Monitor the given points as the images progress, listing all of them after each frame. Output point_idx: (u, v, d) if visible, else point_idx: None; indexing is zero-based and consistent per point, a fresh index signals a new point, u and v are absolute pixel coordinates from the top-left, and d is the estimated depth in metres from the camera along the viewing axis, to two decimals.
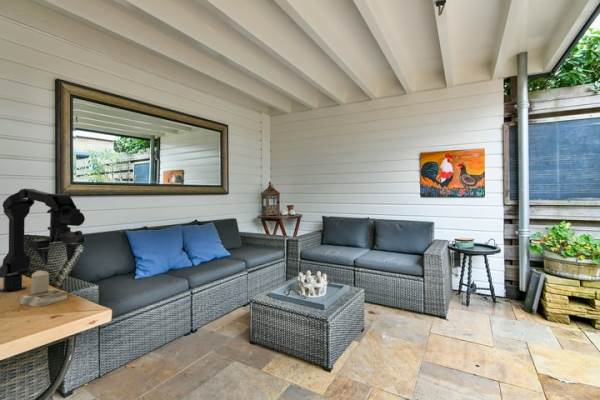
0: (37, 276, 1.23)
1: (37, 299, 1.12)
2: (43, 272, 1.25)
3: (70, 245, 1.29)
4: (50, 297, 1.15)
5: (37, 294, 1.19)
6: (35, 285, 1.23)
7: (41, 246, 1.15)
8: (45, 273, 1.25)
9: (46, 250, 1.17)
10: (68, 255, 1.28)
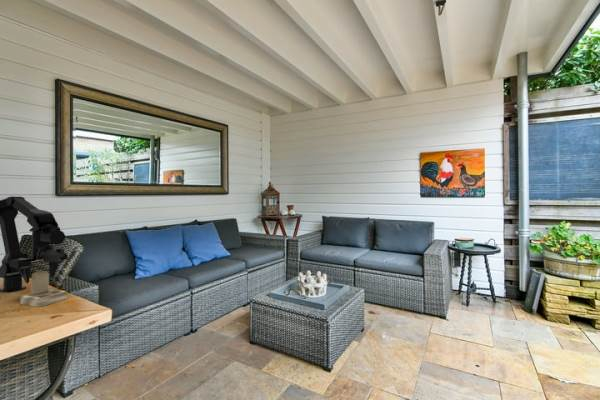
0: (37, 276, 1.23)
1: (37, 299, 1.12)
2: (43, 272, 1.25)
3: (53, 263, 1.30)
4: (50, 297, 1.15)
5: (37, 294, 1.19)
6: (35, 285, 1.23)
7: (22, 265, 1.16)
8: (45, 273, 1.25)
9: (27, 269, 1.19)
10: (51, 272, 1.30)
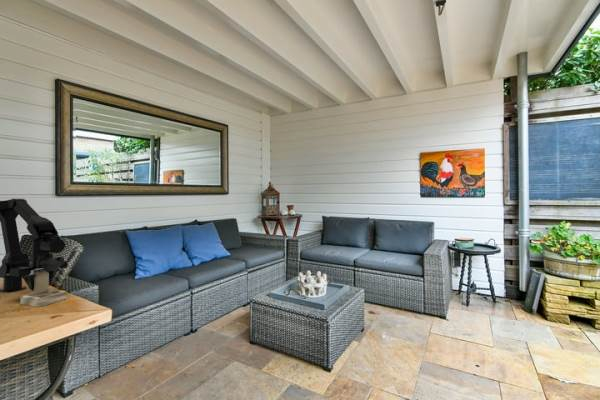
0: (37, 276, 1.23)
1: (37, 299, 1.12)
2: (43, 272, 1.25)
3: (49, 272, 1.29)
4: (50, 297, 1.15)
5: (37, 294, 1.19)
6: (35, 285, 1.23)
7: (22, 274, 1.16)
8: (45, 273, 1.25)
9: (32, 277, 1.21)
10: None
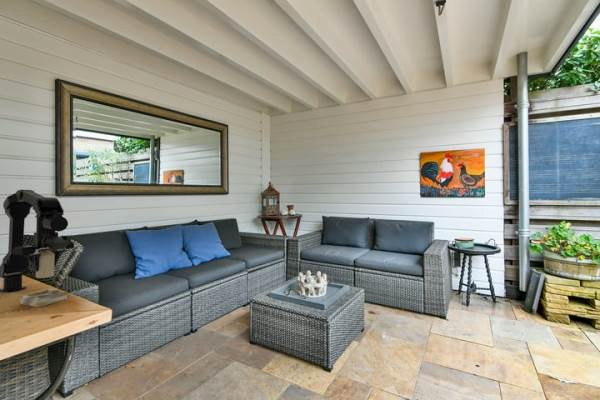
0: (42, 256, 1.15)
1: (37, 299, 1.12)
2: (48, 252, 1.17)
3: (54, 252, 1.21)
4: (50, 297, 1.15)
5: (37, 294, 1.19)
6: (40, 265, 1.15)
7: (26, 253, 1.09)
8: (50, 253, 1.18)
9: (37, 256, 1.13)
10: None
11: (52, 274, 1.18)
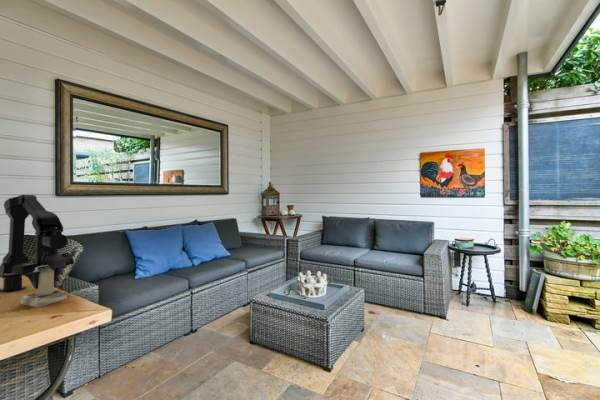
0: (42, 273, 1.15)
1: (37, 299, 1.12)
2: (48, 269, 1.17)
3: (54, 269, 1.21)
4: (50, 297, 1.15)
5: None
6: (39, 283, 1.15)
7: (26, 271, 1.09)
8: (50, 270, 1.18)
9: (36, 274, 1.13)
10: None
11: (51, 291, 1.18)
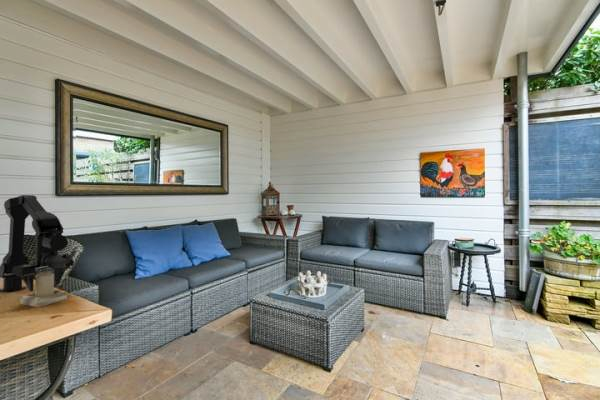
0: (42, 276, 1.15)
1: (37, 299, 1.12)
2: (48, 272, 1.17)
3: (58, 269, 1.23)
4: (50, 297, 1.15)
5: None
6: (39, 286, 1.15)
7: (26, 272, 1.09)
8: (50, 273, 1.18)
9: (31, 276, 1.11)
10: (56, 279, 1.22)
11: (51, 294, 1.18)
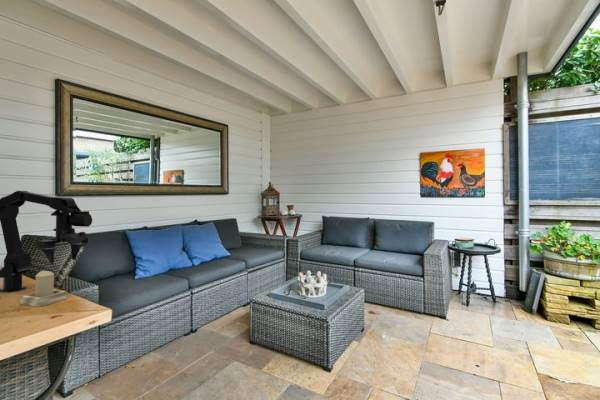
0: (41, 276, 1.15)
1: (37, 299, 1.12)
2: (48, 272, 1.17)
3: (75, 246, 1.37)
4: (50, 297, 1.15)
5: None
6: (39, 286, 1.15)
7: (47, 246, 1.23)
8: (50, 273, 1.18)
9: (52, 250, 1.26)
10: (73, 255, 1.36)
11: (51, 294, 1.18)
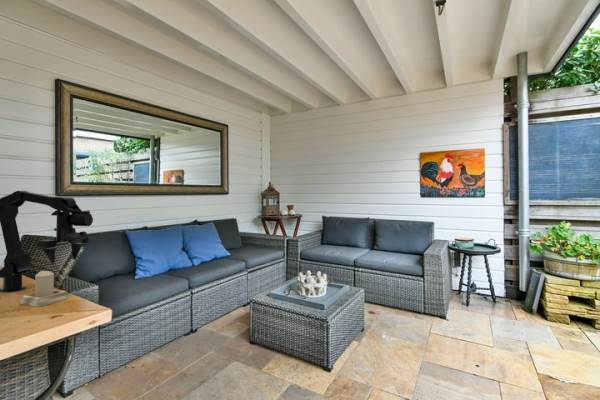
0: (41, 276, 1.15)
1: (37, 299, 1.12)
2: (48, 272, 1.17)
3: (75, 245, 1.37)
4: (50, 297, 1.15)
5: None
6: (39, 286, 1.15)
7: (49, 246, 1.24)
8: (50, 273, 1.18)
9: (53, 250, 1.26)
10: (73, 254, 1.37)
11: (51, 294, 1.18)
